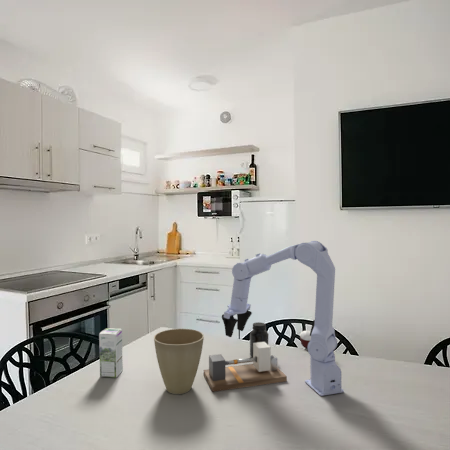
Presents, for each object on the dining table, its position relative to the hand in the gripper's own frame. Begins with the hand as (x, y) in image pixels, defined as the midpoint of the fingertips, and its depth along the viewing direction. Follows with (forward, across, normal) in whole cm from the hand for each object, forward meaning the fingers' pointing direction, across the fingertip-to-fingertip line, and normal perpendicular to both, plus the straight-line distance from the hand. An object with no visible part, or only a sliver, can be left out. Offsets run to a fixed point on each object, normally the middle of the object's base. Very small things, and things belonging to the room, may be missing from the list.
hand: (234, 332), depth 126 cm
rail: (+7, +8, +11) cm, 15 cm away
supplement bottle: (+10, -10, +6) cm, 15 cm away
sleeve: (+6, +4, +14) cm, 16 cm away
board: (+9, +8, +11) cm, 16 cm away
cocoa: (+8, -28, +18) cm, 35 cm away
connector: (+8, +15, +5) cm, 18 cm away
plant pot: (+11, +25, -2) cm, 27 cm away
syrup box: (+16, +30, -27) cm, 43 cm away
